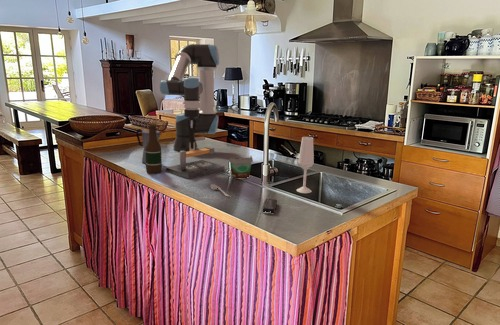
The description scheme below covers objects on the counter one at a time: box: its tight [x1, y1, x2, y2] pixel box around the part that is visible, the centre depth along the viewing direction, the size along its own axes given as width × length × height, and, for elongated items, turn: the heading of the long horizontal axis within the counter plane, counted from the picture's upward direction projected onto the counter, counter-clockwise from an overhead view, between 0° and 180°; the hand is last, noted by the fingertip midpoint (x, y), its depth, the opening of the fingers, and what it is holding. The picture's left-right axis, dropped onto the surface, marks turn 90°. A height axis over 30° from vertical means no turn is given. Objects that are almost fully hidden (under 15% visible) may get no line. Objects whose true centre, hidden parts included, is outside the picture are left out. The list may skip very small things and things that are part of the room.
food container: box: [228, 155, 254, 179], centre depth 181 cm, size 12×6×10 cm, turn 117°
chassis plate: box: [165, 159, 226, 180], centre depth 192 cm, size 24×18×2 cm
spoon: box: [209, 183, 230, 197], centre depth 159 cm, size 4×21×2 cm, turn 32°
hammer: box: [179, 146, 215, 170], centre depth 191 cm, size 20×5×9 cm, turn 138°
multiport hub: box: [262, 198, 278, 214], centre depth 144 cm, size 4×11×2 cm, turn 170°
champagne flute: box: [296, 136, 315, 194], centre depth 163 cm, size 7×7×24 cm
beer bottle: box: [145, 123, 163, 175], centre depth 185 cm, size 8×8×24 cm
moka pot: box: [135, 128, 162, 164], centre depth 203 cm, size 10×15×20 cm, turn 78°
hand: (192, 154), depth 195 cm, fingers closed
